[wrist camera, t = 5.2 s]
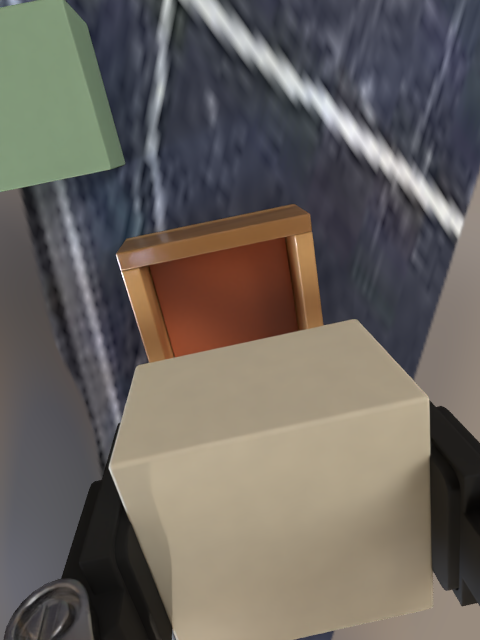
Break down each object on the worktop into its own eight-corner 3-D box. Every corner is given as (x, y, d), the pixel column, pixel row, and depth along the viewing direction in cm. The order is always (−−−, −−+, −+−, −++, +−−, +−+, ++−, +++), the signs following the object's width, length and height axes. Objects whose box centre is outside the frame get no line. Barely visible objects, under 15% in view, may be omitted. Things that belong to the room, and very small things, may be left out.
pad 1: (-48, 50, 17) (-106, 27, 14) (86, 23, 17) (60, -5, 14) (7, 189, 19) (-32, 198, 16) (125, 164, 19) (111, 169, 16)
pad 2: (134, 364, 10) (105, 467, 7) (356, 316, 10) (432, 396, 7) (188, 527, 12) (185, 666, 9) (371, 486, 13) (435, 609, 9)
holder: (126, 238, 21) (115, 253, 18) (294, 203, 21) (310, 213, 18) (198, 484, 27) (199, 525, 24) (328, 456, 27) (343, 493, 24)
